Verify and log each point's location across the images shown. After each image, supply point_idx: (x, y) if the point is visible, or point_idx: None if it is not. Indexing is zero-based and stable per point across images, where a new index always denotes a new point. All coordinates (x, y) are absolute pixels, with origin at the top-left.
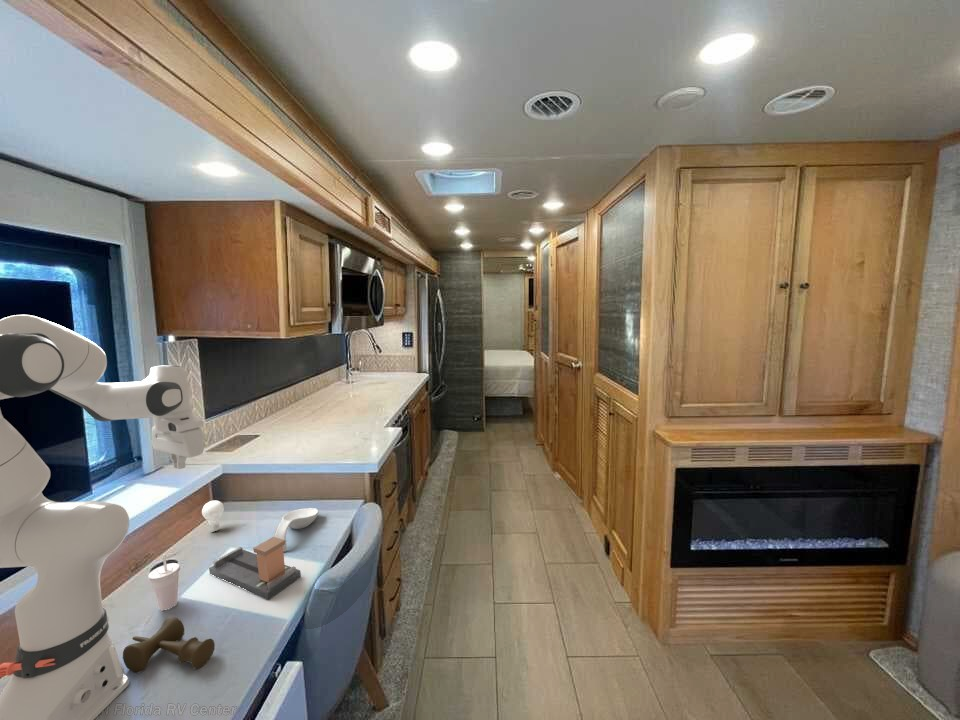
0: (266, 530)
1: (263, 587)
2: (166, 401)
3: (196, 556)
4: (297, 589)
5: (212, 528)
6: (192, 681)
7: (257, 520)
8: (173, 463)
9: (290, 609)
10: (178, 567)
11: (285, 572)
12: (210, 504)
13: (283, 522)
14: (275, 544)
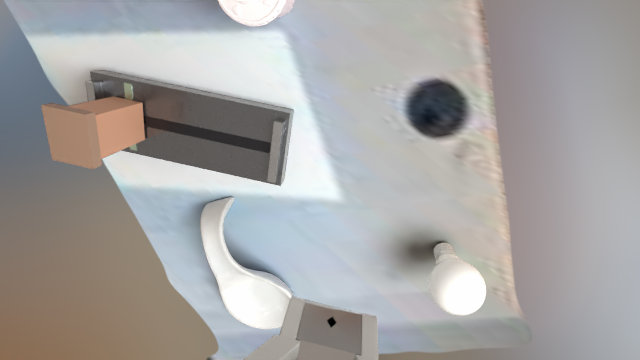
0: (319, 262)
1: (113, 84)
2: None
3: (392, 158)
4: None
5: (443, 247)
6: None
7: (375, 292)
8: (362, 345)
9: (44, 59)
10: (223, 8)
11: None
12: (455, 293)
13: (224, 259)
14: (52, 139)
